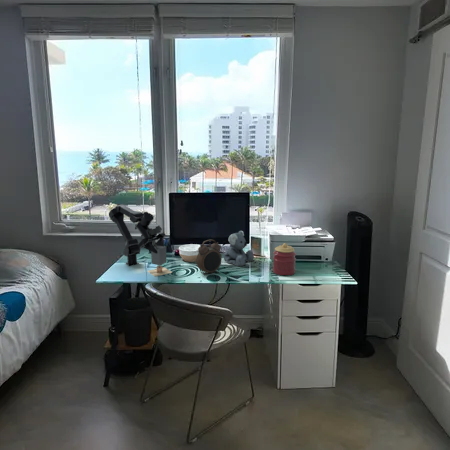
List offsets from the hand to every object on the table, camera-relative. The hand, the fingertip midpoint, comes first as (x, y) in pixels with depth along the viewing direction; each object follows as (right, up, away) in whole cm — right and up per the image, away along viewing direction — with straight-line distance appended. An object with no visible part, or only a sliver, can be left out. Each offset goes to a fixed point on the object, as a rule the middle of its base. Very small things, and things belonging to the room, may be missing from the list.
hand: (160, 251), depth 201 cm
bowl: (+15, -7, +28) cm, 33 cm away
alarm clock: (+28, -13, +3) cm, 31 cm away
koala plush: (+44, -8, +24) cm, 51 cm away
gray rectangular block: (-1, -7, +2) cm, 7 cm away
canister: (+71, -13, +4) cm, 72 cm away
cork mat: (-1, -12, +3) cm, 13 cm away
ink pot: (-1, -12, +3) cm, 12 cm away
